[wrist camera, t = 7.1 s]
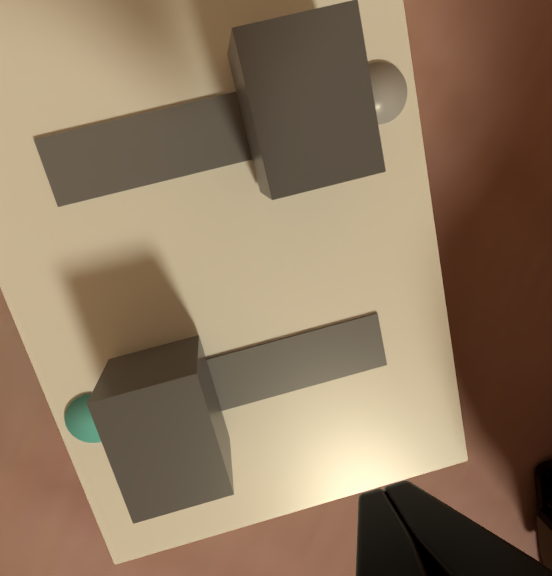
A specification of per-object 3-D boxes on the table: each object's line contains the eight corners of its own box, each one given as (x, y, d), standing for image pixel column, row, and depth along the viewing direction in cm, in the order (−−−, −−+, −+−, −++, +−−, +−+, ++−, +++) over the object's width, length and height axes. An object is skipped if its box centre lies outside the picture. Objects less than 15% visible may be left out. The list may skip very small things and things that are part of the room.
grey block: (198, 334, 16) (196, 373, 13) (229, 438, 17) (234, 494, 14) (108, 359, 16) (86, 403, 13) (146, 461, 17) (133, 523, 14)
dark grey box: (327, 31, 14) (357, -1, 11) (352, 168, 15) (386, 171, 12) (227, 54, 14) (231, 27, 11) (260, 191, 15) (272, 200, 12)
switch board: (308, -449, 13) (326, -557, 11) (444, 433, 21) (469, 462, 19) (-226, -361, 12) (-311, -461, 10) (123, 526, 20) (114, 567, 18)
